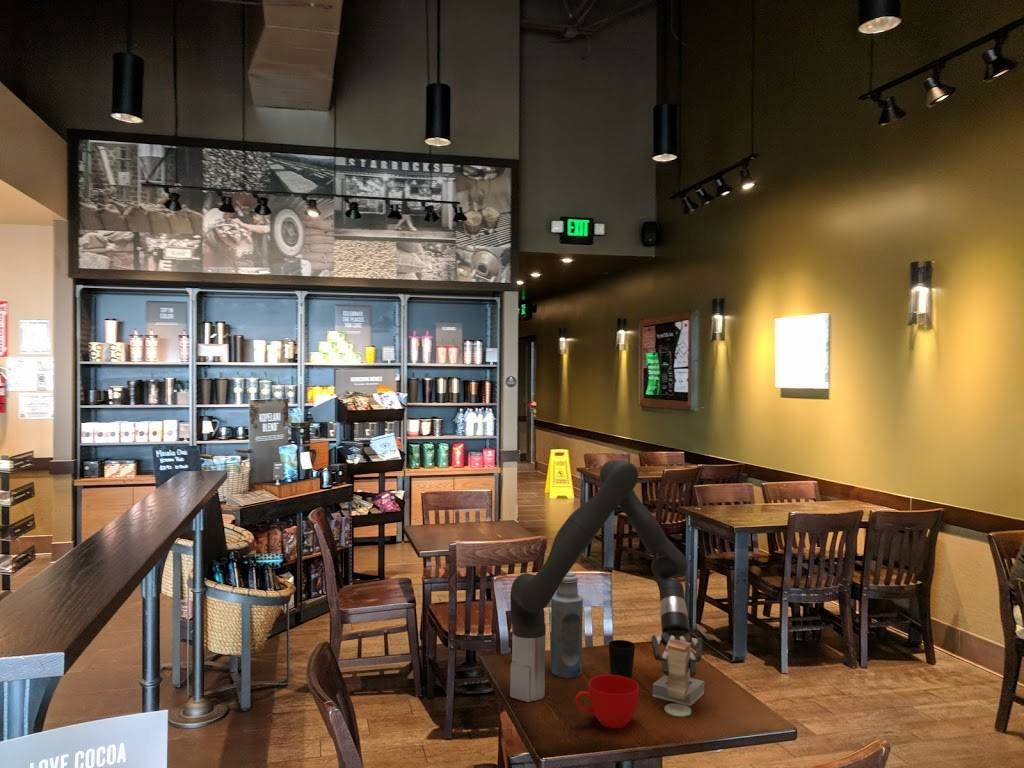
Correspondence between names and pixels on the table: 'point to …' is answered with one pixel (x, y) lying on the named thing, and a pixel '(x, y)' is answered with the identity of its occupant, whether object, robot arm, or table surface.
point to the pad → (677, 710)
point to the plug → (678, 668)
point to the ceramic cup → (612, 699)
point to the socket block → (694, 693)
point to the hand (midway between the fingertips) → (679, 674)
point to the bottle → (566, 629)
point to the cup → (621, 657)
